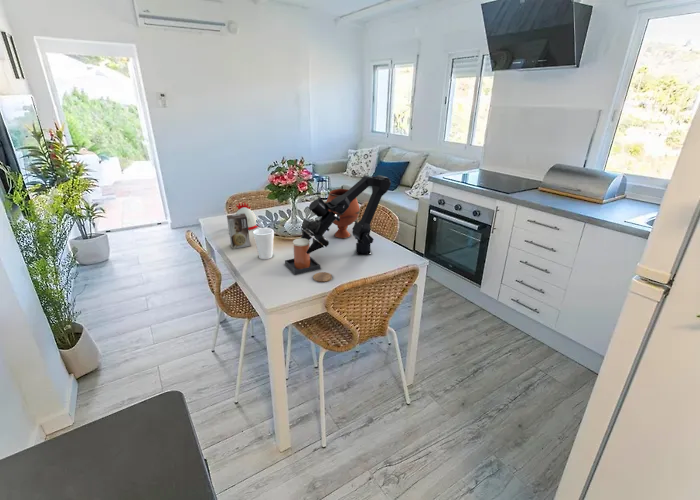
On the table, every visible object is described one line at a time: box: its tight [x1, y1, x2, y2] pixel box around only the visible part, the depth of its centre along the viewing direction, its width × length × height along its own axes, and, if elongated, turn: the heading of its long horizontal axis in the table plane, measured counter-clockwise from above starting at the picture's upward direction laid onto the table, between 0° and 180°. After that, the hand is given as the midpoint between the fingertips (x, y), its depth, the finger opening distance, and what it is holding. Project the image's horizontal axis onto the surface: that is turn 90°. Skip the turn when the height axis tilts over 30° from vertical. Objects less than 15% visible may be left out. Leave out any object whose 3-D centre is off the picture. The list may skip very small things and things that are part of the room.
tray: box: [284, 256, 321, 276], centre depth 159 cm, size 12×12×2 cm
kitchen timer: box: [235, 201, 259, 231], centre depth 204 cm, size 14×14×15 cm
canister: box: [292, 237, 311, 269], centre depth 157 cm, size 7×7×12 cm
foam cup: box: [252, 227, 275, 260], centre depth 166 cm, size 10×9×13 cm
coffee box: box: [226, 213, 251, 250], centre depth 177 cm, size 9×6×16 cm
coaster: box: [312, 271, 333, 283], centre depth 149 cm, size 8×8×1 cm
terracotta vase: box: [325, 188, 360, 239], centre depth 191 cm, size 19×19×25 cm
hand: (302, 249), depth 156 cm, fingers open, 9 cm apart
